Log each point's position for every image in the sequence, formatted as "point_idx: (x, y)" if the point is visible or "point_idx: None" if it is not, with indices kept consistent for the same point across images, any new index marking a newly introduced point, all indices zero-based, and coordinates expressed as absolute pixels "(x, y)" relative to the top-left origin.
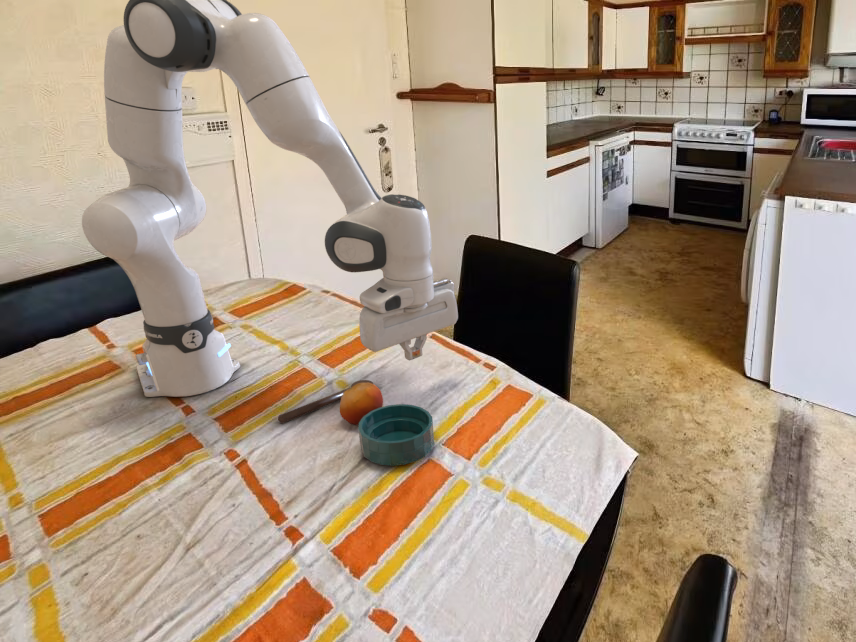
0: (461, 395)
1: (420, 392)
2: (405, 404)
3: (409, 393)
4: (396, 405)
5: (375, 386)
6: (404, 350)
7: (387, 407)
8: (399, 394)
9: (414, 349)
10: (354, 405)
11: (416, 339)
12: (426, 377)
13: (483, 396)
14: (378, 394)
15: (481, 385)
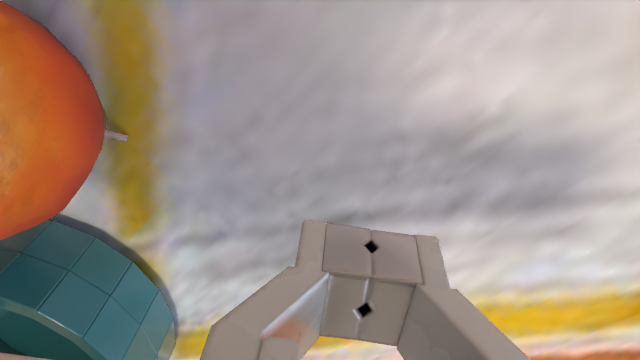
0: (468, 269)
1: (386, 117)
2: (95, 349)
3: (344, 80)
4: (58, 330)
5: (3, 200)
6: (296, 264)
7: (17, 311)
8: (302, 44)
9: (366, 320)
10: None
11: (466, 345)
12: (556, 19)
13: (505, 329)
14: (11, 233)
15: (593, 282)
